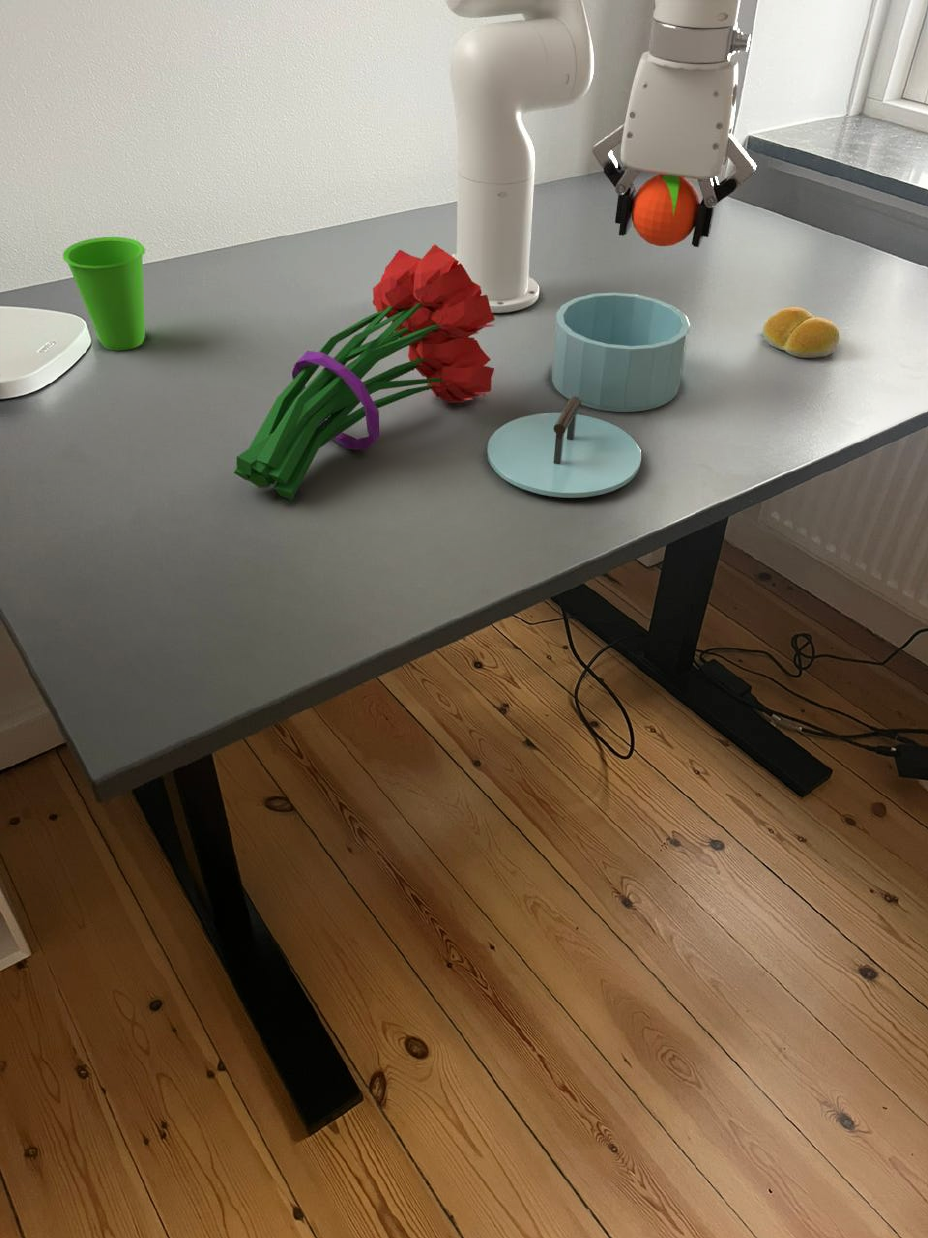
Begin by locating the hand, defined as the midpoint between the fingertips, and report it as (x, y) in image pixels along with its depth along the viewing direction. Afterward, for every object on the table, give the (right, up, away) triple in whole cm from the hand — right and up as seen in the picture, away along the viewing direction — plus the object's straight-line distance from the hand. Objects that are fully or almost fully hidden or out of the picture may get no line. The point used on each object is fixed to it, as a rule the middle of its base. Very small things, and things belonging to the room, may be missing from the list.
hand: (660, 235), depth 105 cm
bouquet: (-30, -22, +1) cm, 37 cm away
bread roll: (+21, -6, +21) cm, 30 cm away
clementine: (0, -1, +1) cm, 1 cm away
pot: (-3, -12, +12) cm, 18 cm away
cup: (-62, -6, +18) cm, 64 cm away
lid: (-10, -23, -2) cm, 25 cm away
